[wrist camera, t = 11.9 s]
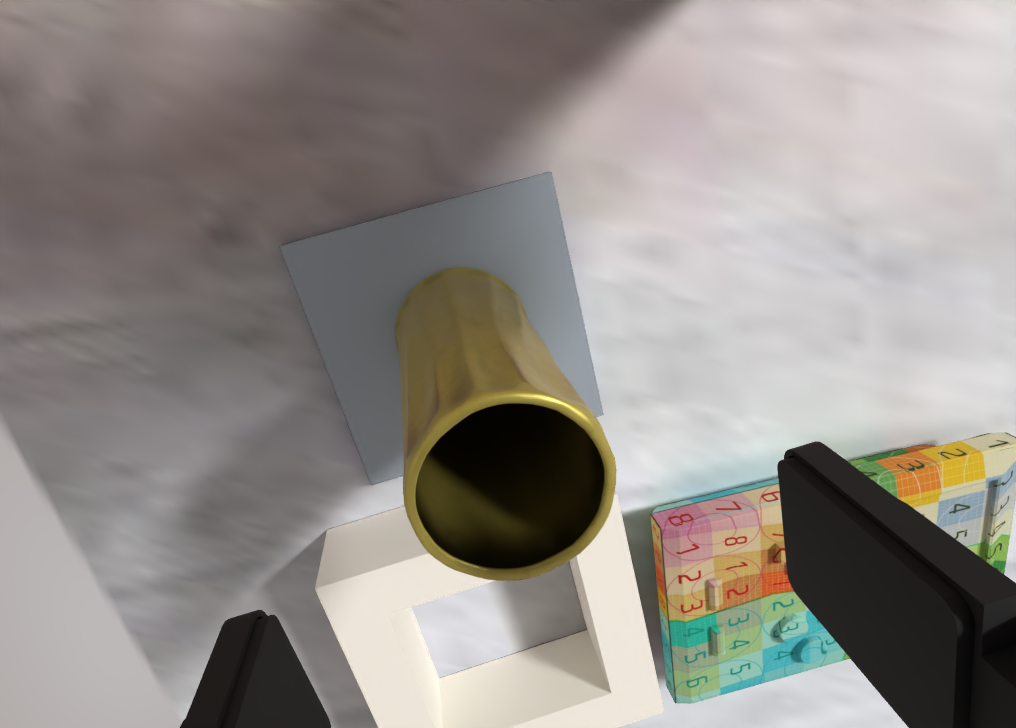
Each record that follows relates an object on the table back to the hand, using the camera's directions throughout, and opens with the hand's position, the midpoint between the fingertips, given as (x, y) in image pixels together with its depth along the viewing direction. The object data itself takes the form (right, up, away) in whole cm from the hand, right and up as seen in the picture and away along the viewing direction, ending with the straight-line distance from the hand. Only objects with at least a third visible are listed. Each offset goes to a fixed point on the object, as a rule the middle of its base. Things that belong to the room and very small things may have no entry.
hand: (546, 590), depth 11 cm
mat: (-3, +5, +18) cm, 19 cm away
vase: (-3, +6, +17) cm, 18 cm away
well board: (-1, -9, +23) cm, 24 cm away
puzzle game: (+17, -6, +25) cm, 31 cm away
